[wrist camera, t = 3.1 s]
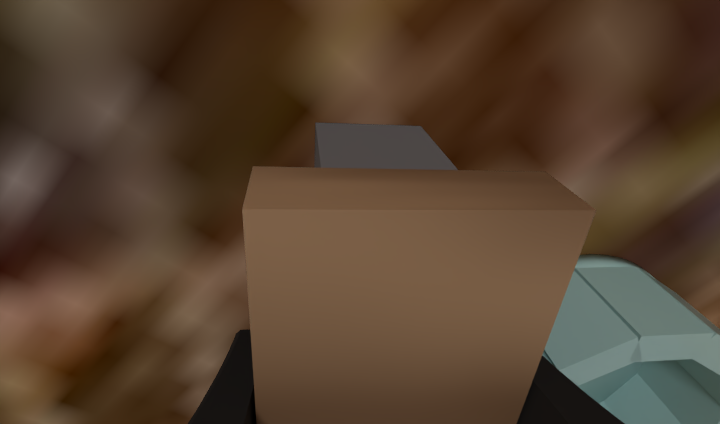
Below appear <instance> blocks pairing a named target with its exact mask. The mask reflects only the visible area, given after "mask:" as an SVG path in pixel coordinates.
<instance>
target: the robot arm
mask: <svg viewBox="0 0 720 424" xmlns="http://www.w3.org/2000/svg"><path fill="white" fill-rule="evenodd" d="M188 424H257V422H256V407H255V392H254V377H253V362H252V347H251V332H250V330H240V331H239V332H238V333H236V335H235V338H234V341H233V343H232V345H231V347H230V350H229V352H228V354H227V356H226V358H225V360H224V362H223V364H222V366H221V368H220V370H219V372H218V374H217V376H216V378H215V379H214V381H213V383H212V385H211V386H210V388H209V390H208V392H207V393H206V395H205V397H204V399H203V400H202V402H201V404H200V405H199V407H198V409H197V410H196V412H195V414H194V415H193V417H192V418H191V420H190V421H189V423H188ZM517 424H625V423H623V422H622V421H621V420H619V419H618V418H617V417H615V416H614V415H613V414H611V413H610V412H609V411H608V410H606V409H605V408H604V407H603V406H601V405H600V404H599V403H598V402H596V401H595V400H594V399H593V398H591V397H590V396H589V395H588V394H586V393H585V392H584V391H583V390H582V389H580V388H579V387H578V386H577V385H576V384H574V383H573V382H572V381H571V380H570V379H569V378H567V377H566V376H565V375H564V374H563V373H562V372H560V371H559V370H558V369H557V368H556V367H555V366H554V365H553V364H551V363H550V362H549V361H548V360H547V359H546V358H545V357H544V356H542V357H541V360H540V362H539V365H538V368H537V370H536V373H535V376H534V378H533V381H532V384H531V386H530V389H529V392H528V394H527V397H526V400H525V402H524V405H523V408H522V410H521V413H520V416H519V418H518V421H517Z"/></svg>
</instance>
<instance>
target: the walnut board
mask: <svg viewBox="0 0 720 424" xmlns="http://www.w3.org/2000/svg"><path fill="white" fill-rule="evenodd" d="M242 213H243V228H244V243H245V258H246V273H247V288H248V303H249V318H250V332H251V347H252V362H253V377H254V392H255V407H256V422H257V424H517V421H518V418H519V416H520V413H521V410H522V408H523V405H524V402H525V400H526V397H527V394H528V392H529V389H530V386H531V384H532V381H533V378H534V376H535V373H536V370H537V368H538V365H539V362H540V360H541V357H542V354H543V352H544V349H545V346H546V344H547V341H548V338H549V336H550V333H551V330H552V328H553V325H554V322H555V320H556V317H557V314H558V312H559V309H560V306H561V304H562V301H563V298H564V296H565V293H566V290H567V288H568V285H569V282H570V280H571V277H572V274H573V272H574V269H575V266H576V264H577V261H578V258H579V256H580V253H581V250H582V248H583V245H584V242H585V240H586V237H587V234H588V232H589V229H590V226H591V224H592V221H593V218H594V216H595V213H596V210H595V209H594V208H592V207H591V206H590V205H588V204H587V203H586V202H585V201H583V200H582V199H581V198H579V197H578V196H577V195H575V194H574V193H573V192H571V191H570V190H569V189H568V188H566V187H565V186H564V185H562V184H561V183H560V182H558V181H557V180H556V179H554V178H553V177H552V176H551V175H549V174H548V173H547V172H537V171H480V170H424V169H368V168H312V167H256V166H253V168H252V172H251V176H250V180H249V184H248V188H247V192H246V196H245V200H244V204H243V208H242Z"/></svg>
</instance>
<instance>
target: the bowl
mask: <svg viewBox="0 0 720 424" xmlns="http://www.w3.org/2000/svg"><path fill="white" fill-rule="evenodd" d="M542 356H544V357H545V358H546V359H547V360H548V361H549V362H550V363H551V364H553V365H554V366H555V367H556V368H557V369H558V370H559V371H560V372H562V373H563V374H564V375H565V376H566V377H567V378H569V379H570V380H571V381H572V382H573V383H574V384H576V385H577V386H578V387H579V388H580V389H582V390H583V391H584V392H585V393H586V394H588V395H589V396H590V397H591V398H593V399H594V400H595V401H596V402H598V403H599V404H600V405H601V406H603V407H604V408H605V409H606V410H608V411H609V412H610V413H611V414H613V415H614V416H615V417H617V418H618V419H619V420H621V421H622V422H623V423H625V424H720V329H719V328H718V327H716V326H715V325H714V324H713V323H712V322H710V321H709V320H708V319H707V318H706V317H704V316H703V315H702V314H701V313H699V312H698V311H697V310H696V309H695V308H693V307H692V306H691V305H690V304H688V303H687V302H686V301H685V300H684V299H682V298H681V297H680V296H679V295H678V294H676V293H675V292H674V291H672V290H671V289H669V288H668V287H666V286H665V285H663V284H662V283H660V282H659V281H657V280H656V279H655V278H654V277H653V276H651V275H650V274H649V273H648V272H646V271H645V270H644V269H643V268H642V267H640V266H638V265H637V264H635V263H633V262H631V261H628V260H625V259H622V258H620V257H614V256H609V255H597V254H588V255H580V256H579V258H578V261H577V264H576V266H575V269H574V272H573V274H572V277H571V280H570V282H569V285H568V288H567V290H566V293H565V296H564V298H563V301H562V304H561V306H560V309H559V312H558V314H557V317H556V320H555V322H554V325H553V328H552V330H551V333H550V336H549V338H548V341H547V344H546V346H545V349H544V352H543V354H542Z"/></svg>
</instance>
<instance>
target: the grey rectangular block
mask: <svg viewBox="0 0 720 424" xmlns="http://www.w3.org/2000/svg"><path fill="white" fill-rule="evenodd" d="M315 168H368V169H424V170H458V169H457V168H456V167H455V166H454V165H453V164H452V162H451V161H450V160H449V159H448V158H447V157H446V155H445V154H444V153H443V152H442V151H441V150H440V148H439V147H438V146H437V145H436V144H435V142H434V141H433V140H432V139H431V138H430V137H429V135H428V134H427V133H426V132H425V131H424V130H423V128H422V127H421V126H401V125H371V124H340V123H316V126H315Z"/></svg>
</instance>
